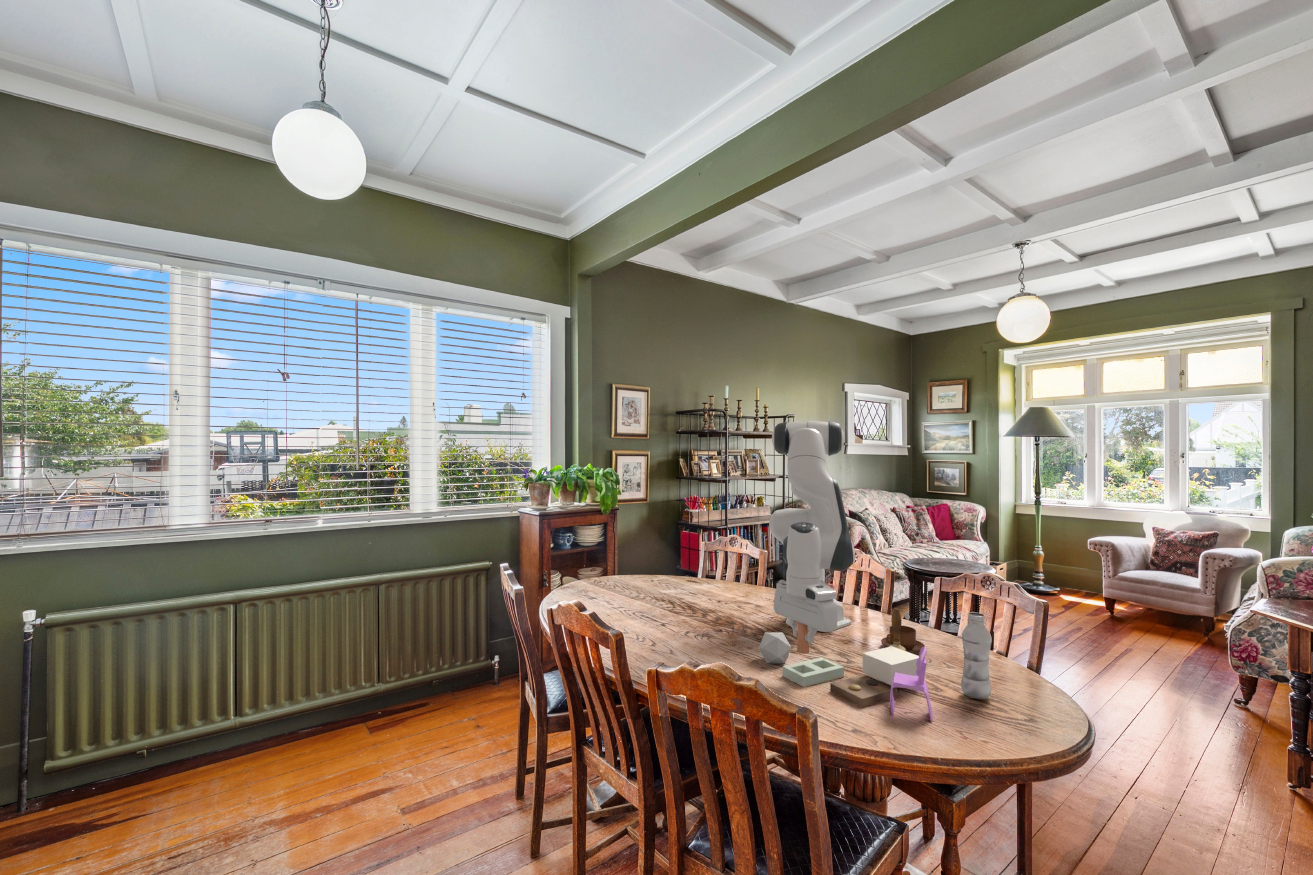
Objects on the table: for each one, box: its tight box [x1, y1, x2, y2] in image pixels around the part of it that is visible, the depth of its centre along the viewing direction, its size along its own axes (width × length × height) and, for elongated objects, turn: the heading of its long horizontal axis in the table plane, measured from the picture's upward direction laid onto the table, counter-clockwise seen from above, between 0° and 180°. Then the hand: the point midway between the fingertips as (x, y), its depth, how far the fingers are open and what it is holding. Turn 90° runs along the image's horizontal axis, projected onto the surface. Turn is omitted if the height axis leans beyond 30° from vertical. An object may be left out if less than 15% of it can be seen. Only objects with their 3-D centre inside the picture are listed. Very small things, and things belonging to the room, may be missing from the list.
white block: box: [862, 646, 919, 686], centre depth 148 cm, size 11×9×5 cm
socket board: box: [782, 656, 845, 688], centre depth 154 cm, size 14×8×2 cm, turn 119°
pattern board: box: [829, 673, 898, 708], centre depth 143 cm, size 12×10×2 cm
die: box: [758, 631, 792, 664], centre depth 165 cm, size 8×9×10 cm
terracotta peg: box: [796, 622, 810, 655], centre depth 152 cm, size 3×3×8 cm
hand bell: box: [889, 607, 906, 651], centre depth 161 cm, size 8×8×16 cm
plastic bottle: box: [960, 611, 993, 700], centre depth 142 cm, size 6×7×20 cm
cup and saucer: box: [880, 624, 926, 654], centre depth 175 cm, size 12×12×6 cm
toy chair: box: [889, 646, 934, 723], centre depth 134 cm, size 8×9×15 cm
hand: (803, 639), depth 152 cm, fingers closed on terracotta peg, 3 cm apart
